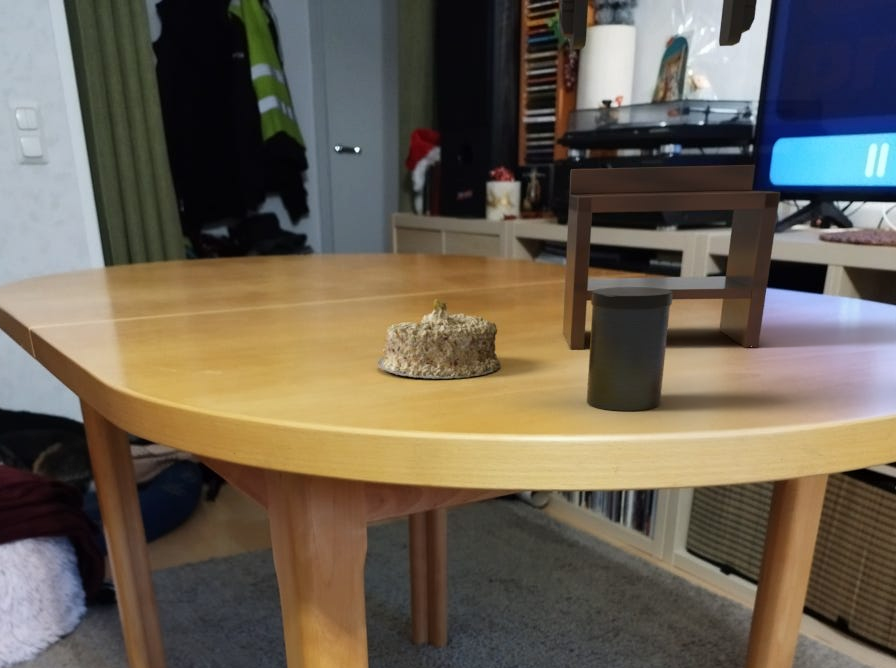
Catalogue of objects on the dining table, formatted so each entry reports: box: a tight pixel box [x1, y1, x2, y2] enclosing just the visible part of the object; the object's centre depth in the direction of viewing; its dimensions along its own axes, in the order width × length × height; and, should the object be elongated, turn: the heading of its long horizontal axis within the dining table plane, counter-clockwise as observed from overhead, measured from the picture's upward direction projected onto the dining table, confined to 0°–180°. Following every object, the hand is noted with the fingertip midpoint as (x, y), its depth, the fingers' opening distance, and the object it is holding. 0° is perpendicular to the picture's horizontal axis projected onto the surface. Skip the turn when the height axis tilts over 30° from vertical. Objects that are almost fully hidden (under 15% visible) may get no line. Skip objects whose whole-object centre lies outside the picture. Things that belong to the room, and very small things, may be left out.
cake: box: [376, 298, 502, 380], centre depth 73 cm, size 10×10×5 cm
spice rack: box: [562, 164, 781, 350], centre depth 81 cm, size 16×10×14 cm, turn 86°
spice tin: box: [586, 287, 673, 412], centre depth 60 cm, size 5×5×7 cm
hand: (653, 46), depth 52 cm, fingers open, 8 cm apart
